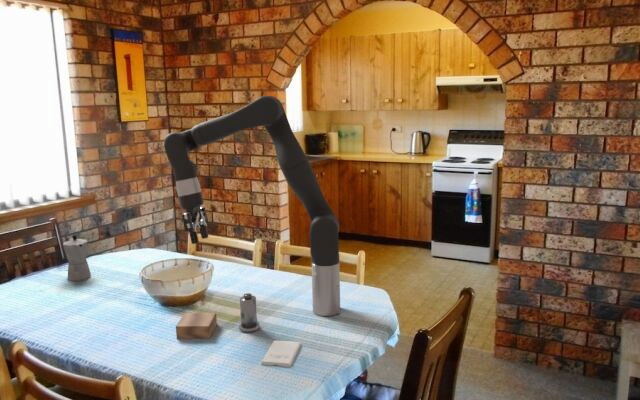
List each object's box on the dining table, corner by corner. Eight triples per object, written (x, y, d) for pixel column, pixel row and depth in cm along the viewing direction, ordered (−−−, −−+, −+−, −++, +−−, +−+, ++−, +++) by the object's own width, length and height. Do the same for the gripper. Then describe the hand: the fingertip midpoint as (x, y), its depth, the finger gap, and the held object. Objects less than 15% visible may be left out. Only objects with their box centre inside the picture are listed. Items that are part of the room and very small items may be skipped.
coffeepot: (97, 278, 215) (92, 235, 211) (73, 284, 208) (68, 240, 205) (82, 269, 226) (78, 229, 222) (59, 275, 219) (54, 233, 216)
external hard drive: (300, 347, 154) (290, 368, 142) (273, 345, 156) (261, 366, 144) (300, 342, 154) (290, 363, 142) (273, 340, 156) (260, 360, 144)
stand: (216, 324, 169) (216, 312, 169) (209, 338, 160) (208, 326, 159) (186, 324, 170) (185, 312, 169) (176, 338, 160) (175, 326, 159)
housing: (260, 323, 169) (259, 290, 167) (257, 332, 163) (256, 298, 161) (241, 323, 169) (239, 291, 167) (237, 332, 163) (235, 298, 161)
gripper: (191, 193, 165) (202, 243, 167) (208, 188, 179) (218, 234, 181) (169, 197, 167) (181, 247, 168) (187, 192, 180) (198, 238, 182)
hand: (200, 240), depth 174 cm, fingers open, 8 cm apart
